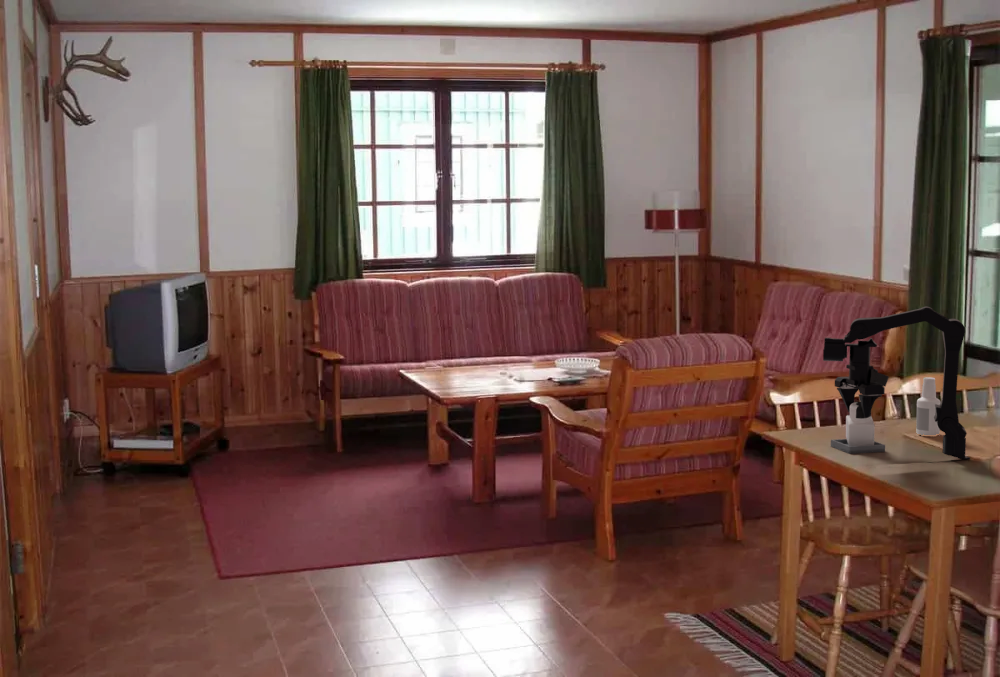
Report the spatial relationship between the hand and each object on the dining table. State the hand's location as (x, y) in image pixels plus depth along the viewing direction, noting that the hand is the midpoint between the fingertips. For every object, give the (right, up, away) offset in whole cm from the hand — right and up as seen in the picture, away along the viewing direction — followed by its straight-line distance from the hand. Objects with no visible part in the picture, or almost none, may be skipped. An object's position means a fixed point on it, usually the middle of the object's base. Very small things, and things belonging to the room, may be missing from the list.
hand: (858, 414), depth 347 cm
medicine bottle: (+1, -8, +3) cm, 9 cm away
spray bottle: (+28, -8, +20) cm, 35 cm away
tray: (0, -10, +1) cm, 10 cm away
